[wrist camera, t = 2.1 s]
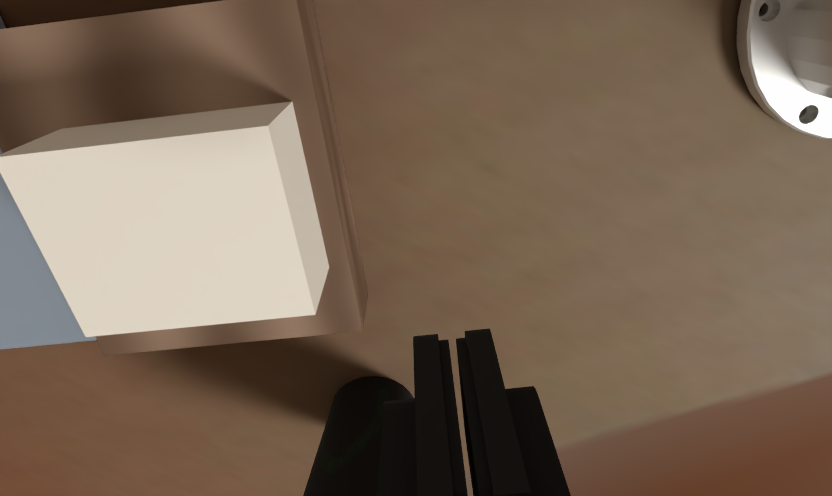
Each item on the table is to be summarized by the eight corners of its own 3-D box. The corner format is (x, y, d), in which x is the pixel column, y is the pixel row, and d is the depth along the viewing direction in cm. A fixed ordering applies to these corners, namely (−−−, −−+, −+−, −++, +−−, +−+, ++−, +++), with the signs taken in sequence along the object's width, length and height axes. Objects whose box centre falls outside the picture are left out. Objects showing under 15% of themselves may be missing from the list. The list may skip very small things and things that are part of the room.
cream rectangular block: (292, 101, 21) (268, 125, 18) (329, 267, 25) (315, 314, 21) (61, 128, 22) (-8, 157, 18) (131, 287, 25) (85, 337, 22)
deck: (310, -11, 22) (294, -9, 19) (367, 294, 30) (362, 330, 27) (6, 28, 23) (-57, 36, 20) (136, 317, 30) (105, 355, 27)
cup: (294, 387, 33) (239, 580, 22) (400, 347, 32) (394, 533, 21) (351, 461, 36) (326, 659, 26) (449, 428, 35) (465, 624, 24)
